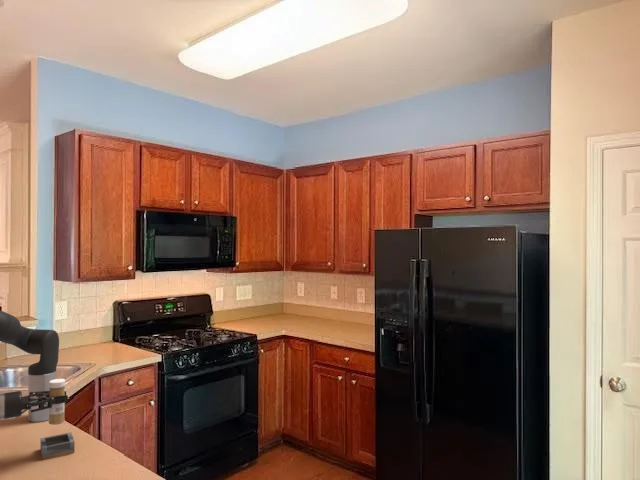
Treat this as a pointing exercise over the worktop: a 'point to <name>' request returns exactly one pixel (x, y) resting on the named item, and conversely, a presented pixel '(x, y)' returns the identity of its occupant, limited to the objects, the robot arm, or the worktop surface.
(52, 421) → the sprinkles bottle
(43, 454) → the socket jig
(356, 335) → the worktop surface
